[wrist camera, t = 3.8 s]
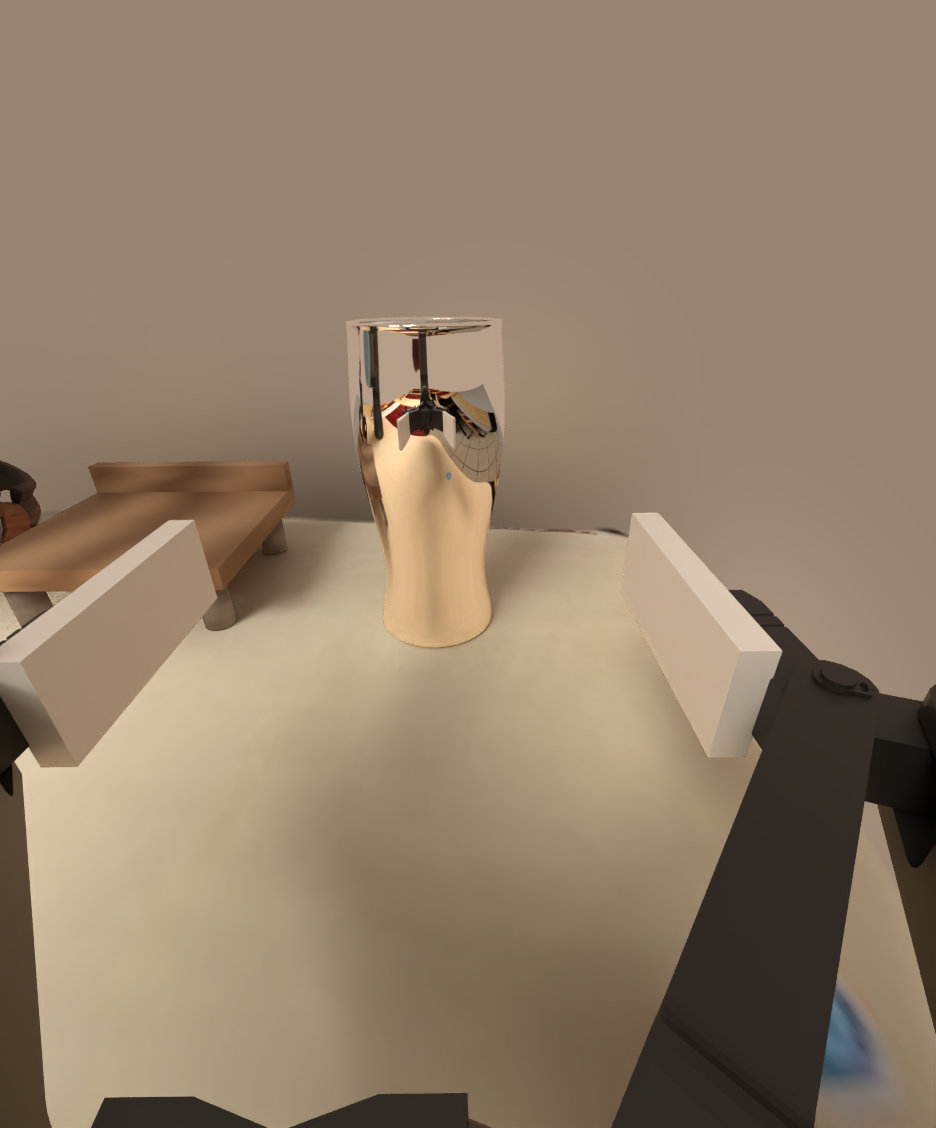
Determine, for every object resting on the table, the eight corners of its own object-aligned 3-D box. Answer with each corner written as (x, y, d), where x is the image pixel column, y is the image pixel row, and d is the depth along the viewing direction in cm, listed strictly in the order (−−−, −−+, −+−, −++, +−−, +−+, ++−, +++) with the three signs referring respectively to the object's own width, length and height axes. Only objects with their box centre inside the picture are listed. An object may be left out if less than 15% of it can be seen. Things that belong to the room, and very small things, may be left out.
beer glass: (512, 593, 30) (523, 316, 23) (478, 666, 24) (479, 324, 17) (406, 576, 32) (386, 316, 25) (351, 639, 26) (305, 323, 19)
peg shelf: (-9, 640, 26) (-68, 537, 24) (126, 541, 37) (97, 462, 34) (237, 638, 26) (208, 535, 24) (302, 540, 37) (288, 460, 34)
